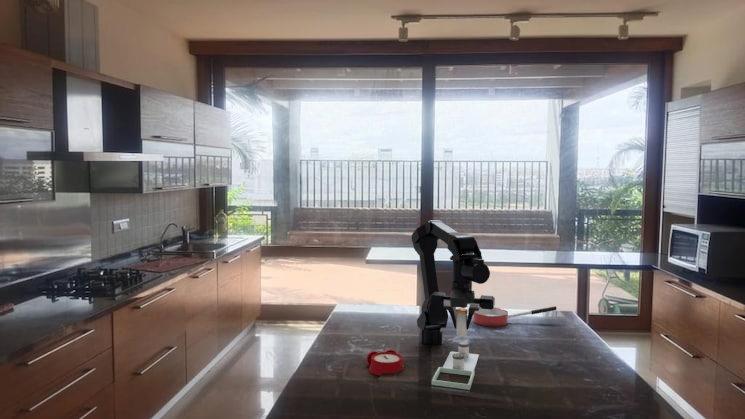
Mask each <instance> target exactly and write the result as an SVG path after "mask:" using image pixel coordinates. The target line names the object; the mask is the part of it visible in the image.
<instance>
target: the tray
mask: <svg viewBox="0 0 745 419" xmlns="http://www.w3.org/2000/svg"><path fill="white" fill-rule="evenodd" d="M441 373H445V374H451V375H452V374H454V375H462V376H467V377H468V376H469V377H470V378H469V380H468V382H467V383H461V382H456V381H455V382H453V381H446V380H439V379H438V377H439V376H440V374H441ZM474 378H475V370H474V371H469V370H461V369H453V368H444V367H443V366H438V368H437V369H436V371H435V373H434V375H433V377H432V379H431V389H433V390H441V389H442V391H450V392H457V393H462V394H463V393H464V394H470V393H471V391H470V390H471V388H472V384H473V381H474Z"/></svg>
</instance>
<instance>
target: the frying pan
mask: <svg viewBox="0 0 745 419" xmlns="http://www.w3.org/2000/svg"><path fill="white" fill-rule="evenodd" d="M554 311H557V307H556V305H555V306H548V307H543V308H538V309H534V310H529V311H524V312H520V313H513V314H509V313H508V310H505V309H503V308H498V307H494V308H493V309H482V308H481V307H480V309H479V311H475V312H474V314H473V317H472V320H473V323H475V324H476V325H477V326H478V325H479V326H483V327H488V328H489V327H490V328H498V327H499V328H500V327H505V326H507V324H508V322H509V319H511V318H516V317H521V316H527V315H536V314H541V313H542V314H543V313H547V312H554Z"/></svg>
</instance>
